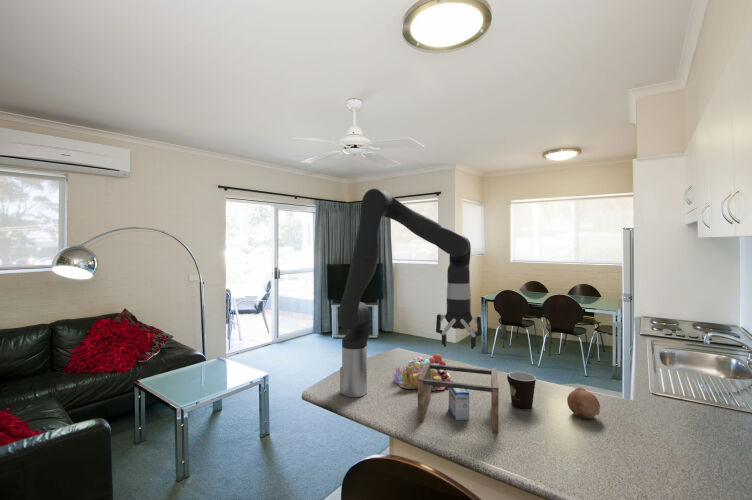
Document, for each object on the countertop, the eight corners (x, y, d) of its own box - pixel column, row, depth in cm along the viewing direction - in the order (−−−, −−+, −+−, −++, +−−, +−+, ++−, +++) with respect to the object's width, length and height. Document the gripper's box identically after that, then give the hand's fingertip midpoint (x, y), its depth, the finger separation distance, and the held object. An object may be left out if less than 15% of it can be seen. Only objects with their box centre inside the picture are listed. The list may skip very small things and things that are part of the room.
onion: (576, 419, 116) (571, 388, 120) (606, 421, 110) (601, 389, 114) (564, 417, 111) (560, 385, 115) (596, 419, 104) (590, 385, 109)
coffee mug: (538, 412, 115) (538, 382, 115) (510, 410, 116) (510, 380, 116) (530, 397, 126) (530, 369, 126) (505, 395, 128) (505, 368, 128)
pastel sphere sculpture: (458, 393, 130) (459, 368, 130) (395, 393, 131) (395, 368, 131) (446, 370, 155) (446, 349, 155) (392, 370, 156) (392, 349, 156)
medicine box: (448, 408, 117) (448, 382, 117) (461, 408, 118) (461, 382, 118) (455, 420, 110) (455, 392, 109) (469, 419, 110) (469, 392, 110)
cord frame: (417, 421, 109) (417, 379, 109) (426, 398, 125) (426, 362, 125) (498, 432, 102) (498, 388, 102) (496, 407, 118) (496, 368, 118)
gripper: (434, 297, 112) (434, 348, 112) (481, 299, 108) (481, 352, 108) (437, 294, 119) (437, 342, 119) (481, 296, 115) (481, 345, 115)
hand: (458, 347), depth 113 cm, fingers open, 8 cm apart
